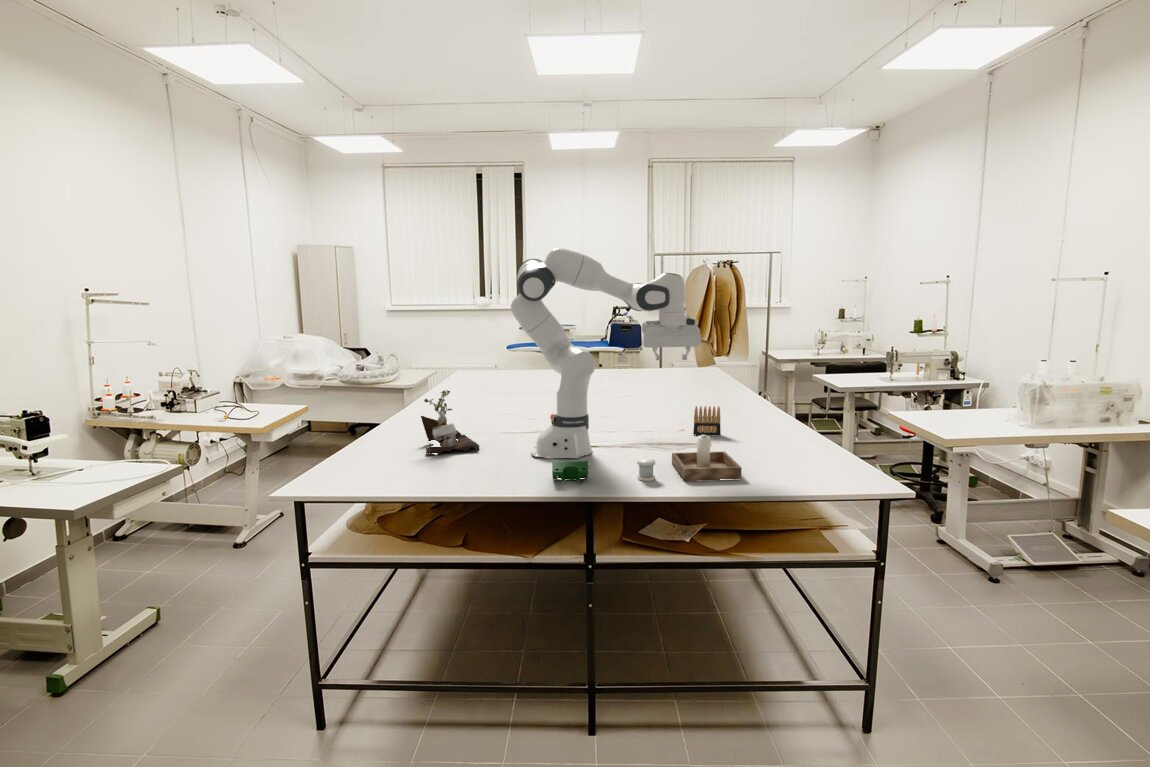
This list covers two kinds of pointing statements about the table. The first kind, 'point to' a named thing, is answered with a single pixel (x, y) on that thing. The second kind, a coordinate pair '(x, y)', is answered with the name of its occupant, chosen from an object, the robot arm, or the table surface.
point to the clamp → (570, 470)
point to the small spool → (646, 469)
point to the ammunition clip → (707, 422)
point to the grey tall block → (703, 451)
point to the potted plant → (445, 431)
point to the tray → (719, 467)
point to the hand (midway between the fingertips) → (671, 359)
